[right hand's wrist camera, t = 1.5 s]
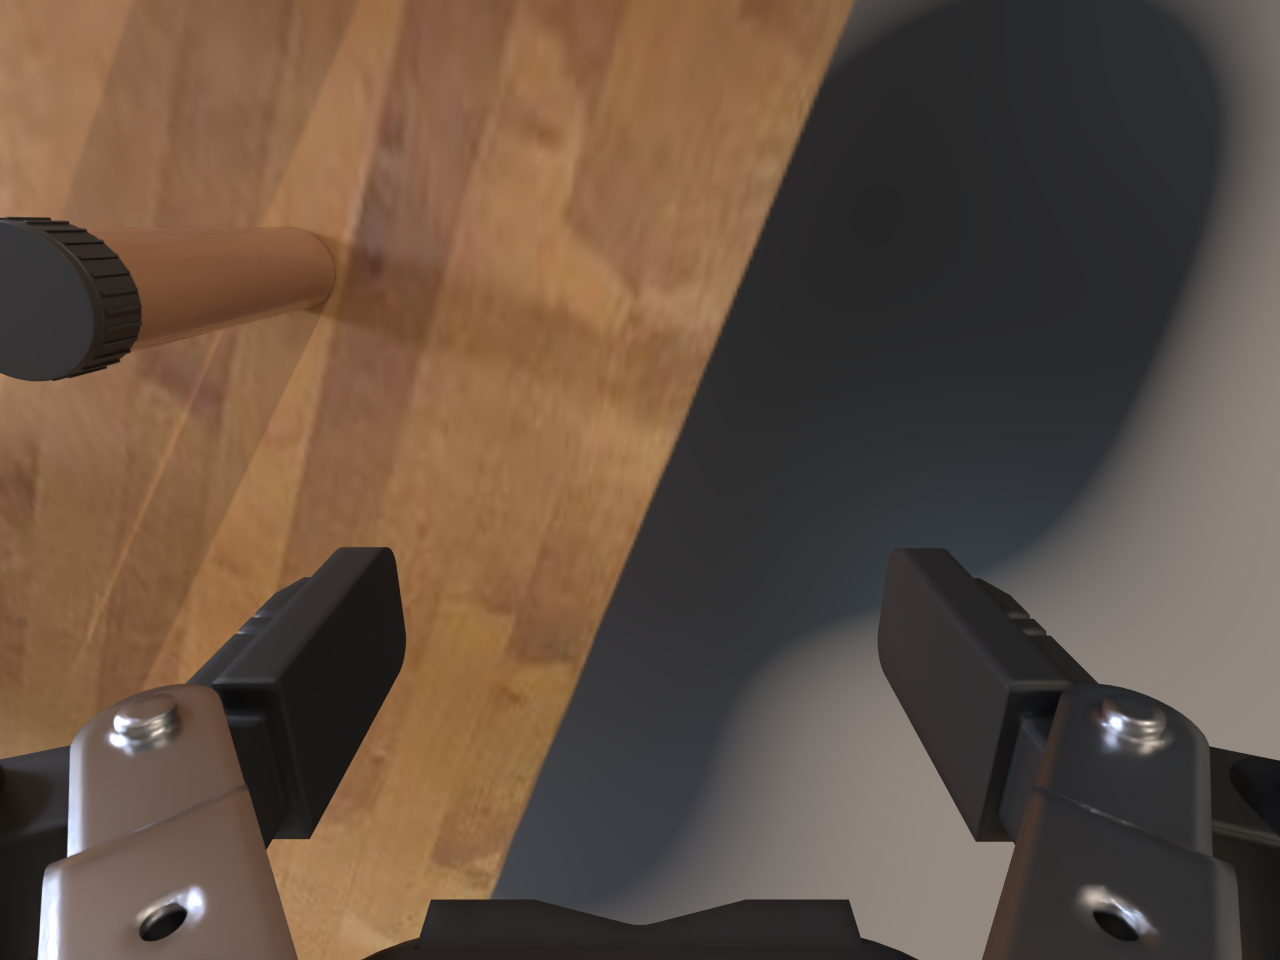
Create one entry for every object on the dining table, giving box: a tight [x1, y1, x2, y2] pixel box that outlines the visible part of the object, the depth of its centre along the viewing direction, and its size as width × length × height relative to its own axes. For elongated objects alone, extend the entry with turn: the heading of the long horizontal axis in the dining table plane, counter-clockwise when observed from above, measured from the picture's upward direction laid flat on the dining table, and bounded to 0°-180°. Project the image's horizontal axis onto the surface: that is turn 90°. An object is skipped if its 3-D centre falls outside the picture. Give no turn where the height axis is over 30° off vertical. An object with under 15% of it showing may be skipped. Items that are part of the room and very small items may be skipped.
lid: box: [0, 217, 142, 381], centre depth 21 cm, size 5×5×2 cm
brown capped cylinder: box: [85, 227, 335, 352], centre depth 29 cm, size 4×4×18 cm
